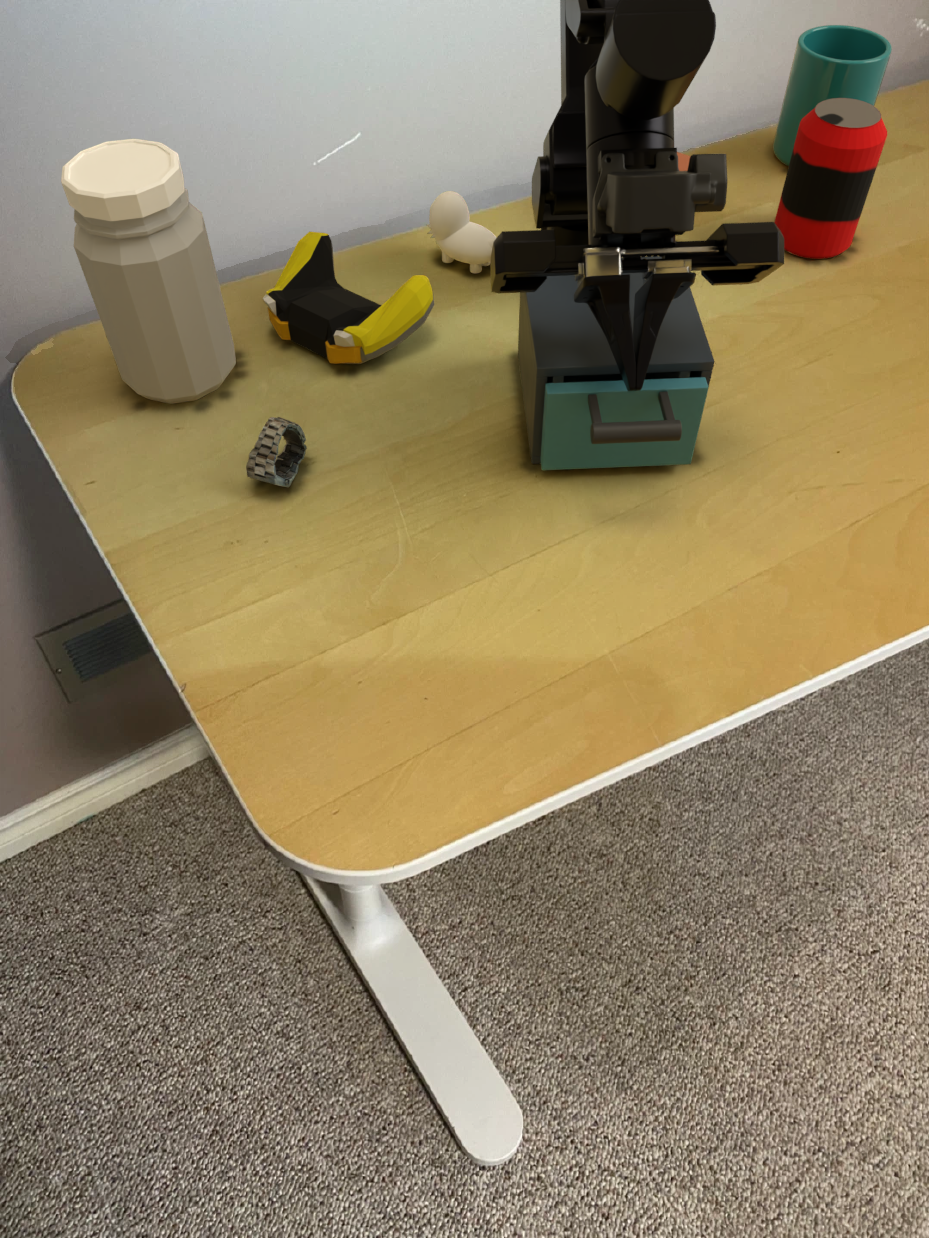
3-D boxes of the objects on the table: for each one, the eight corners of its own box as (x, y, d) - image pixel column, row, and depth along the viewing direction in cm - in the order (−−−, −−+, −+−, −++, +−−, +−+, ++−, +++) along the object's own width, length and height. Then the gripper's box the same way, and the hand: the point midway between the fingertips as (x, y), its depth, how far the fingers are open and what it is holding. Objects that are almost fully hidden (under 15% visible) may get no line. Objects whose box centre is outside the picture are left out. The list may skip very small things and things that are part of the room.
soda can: (754, 235, 94) (785, 109, 85) (807, 210, 97) (842, 85, 88) (814, 270, 91) (853, 142, 81) (867, 243, 93) (911, 116, 84)
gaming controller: (320, 275, 91) (245, 326, 86) (312, 220, 87) (232, 270, 82) (445, 331, 85) (372, 389, 80) (443, 276, 81) (366, 333, 76)
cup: (876, 137, 106) (912, 25, 97) (840, 185, 100) (875, 70, 91) (798, 118, 109) (826, 8, 100) (758, 163, 103) (784, 49, 94)
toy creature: (444, 237, 95) (442, 175, 90) (512, 262, 92) (514, 199, 87) (416, 259, 92) (413, 196, 88) (486, 285, 90) (486, 222, 85)
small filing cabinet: (692, 458, 75) (715, 361, 68) (531, 464, 75) (536, 368, 67) (662, 350, 83) (679, 254, 76) (517, 356, 83) (521, 260, 76)
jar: (179, 325, 86) (120, 121, 72) (263, 361, 83) (218, 154, 69) (99, 384, 81) (19, 177, 67) (184, 425, 78) (119, 215, 64)
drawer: (702, 507, 70) (723, 427, 64) (547, 513, 70) (553, 434, 64) (662, 362, 81) (677, 282, 75) (527, 367, 81) (531, 288, 75)
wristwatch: (269, 481, 76) (239, 475, 71) (294, 420, 75) (265, 410, 70) (302, 497, 75) (273, 492, 70) (327, 436, 74) (300, 426, 70)
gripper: (495, 102, 55) (504, 380, 57) (818, 92, 55) (817, 368, 57) (486, 170, 66) (494, 401, 68) (755, 160, 66) (756, 390, 68)
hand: (634, 390), depth 65 cm, fingers closed
